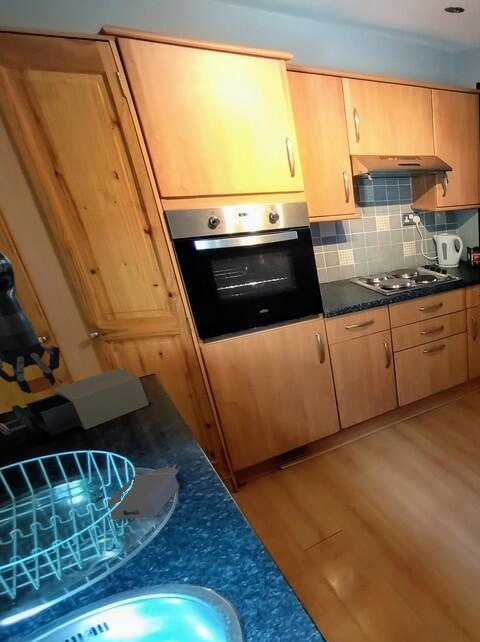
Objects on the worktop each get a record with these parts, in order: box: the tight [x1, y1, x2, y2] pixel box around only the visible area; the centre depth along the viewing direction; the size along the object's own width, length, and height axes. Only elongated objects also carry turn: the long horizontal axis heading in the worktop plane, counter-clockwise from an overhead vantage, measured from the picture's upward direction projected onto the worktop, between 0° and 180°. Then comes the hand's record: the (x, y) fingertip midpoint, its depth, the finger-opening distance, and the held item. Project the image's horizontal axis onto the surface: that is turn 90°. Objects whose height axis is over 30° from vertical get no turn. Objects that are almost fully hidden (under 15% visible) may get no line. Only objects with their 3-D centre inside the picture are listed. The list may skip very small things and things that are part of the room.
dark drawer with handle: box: [0, 393, 82, 444], centre depth 124 cm, size 19×12×8 cm, turn 151°
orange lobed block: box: [26, 376, 54, 395], centre depth 122 cm, size 8×4×3 cm, turn 61°
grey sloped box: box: [52, 368, 150, 430], centre depth 134 cm, size 16×13×10 cm
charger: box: [104, 464, 180, 521], centre depth 102 cm, size 5×9×15 cm
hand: (40, 388), depth 121 cm, fingers closed on orange lobed block, 4 cm apart
